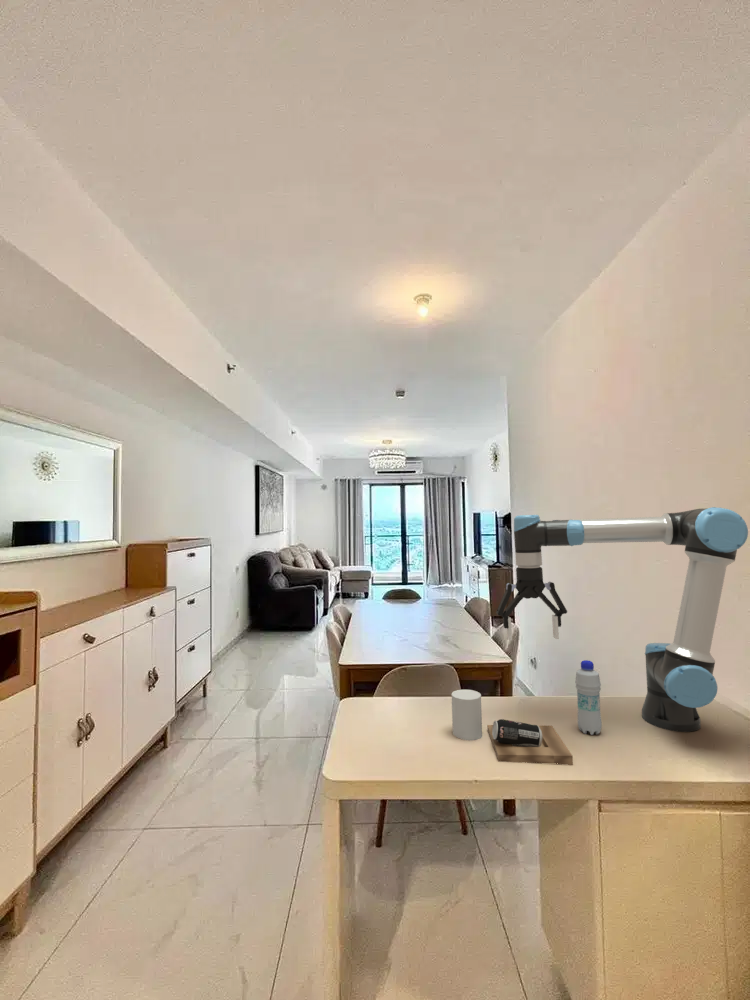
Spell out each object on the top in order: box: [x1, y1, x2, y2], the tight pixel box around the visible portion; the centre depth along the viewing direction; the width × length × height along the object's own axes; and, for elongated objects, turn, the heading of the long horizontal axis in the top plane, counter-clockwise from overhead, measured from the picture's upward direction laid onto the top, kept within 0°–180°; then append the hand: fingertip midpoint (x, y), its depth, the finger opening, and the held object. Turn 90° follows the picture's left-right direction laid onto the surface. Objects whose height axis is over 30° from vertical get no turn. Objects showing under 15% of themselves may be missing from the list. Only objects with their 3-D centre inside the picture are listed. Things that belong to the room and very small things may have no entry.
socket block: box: [486, 724, 574, 766], centre depth 130 cm, size 18×18×2 cm
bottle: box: [575, 659, 603, 736], centre depth 140 cm, size 7×7×20 cm
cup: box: [451, 689, 483, 741], centre depth 138 cm, size 8×8×12 cm
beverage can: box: [492, 718, 542, 747], centre depth 129 cm, size 6×6×12 cm
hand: (532, 638), depth 146 cm, fingers open, 13 cm apart
